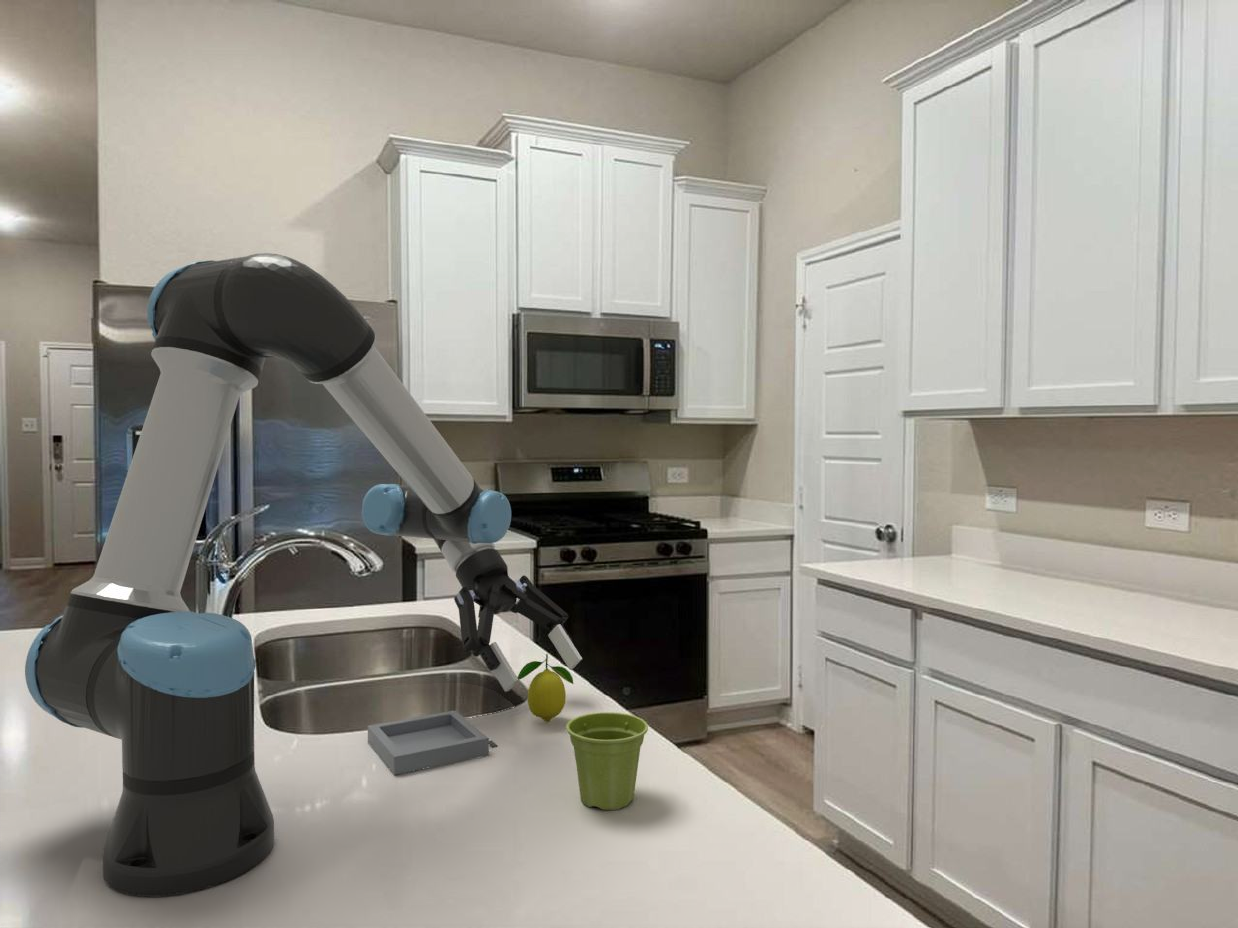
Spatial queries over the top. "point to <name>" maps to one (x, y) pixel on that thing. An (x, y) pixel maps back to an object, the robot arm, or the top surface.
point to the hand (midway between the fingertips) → (545, 674)
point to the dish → (427, 741)
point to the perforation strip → (492, 743)
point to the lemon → (546, 690)
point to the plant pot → (607, 756)
